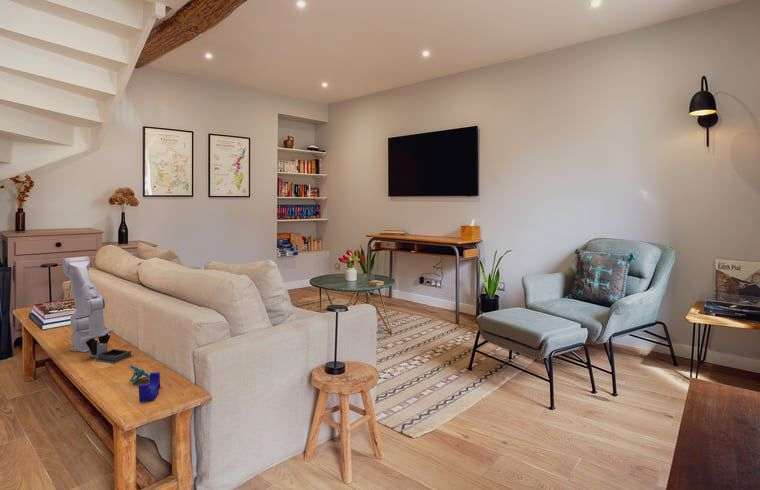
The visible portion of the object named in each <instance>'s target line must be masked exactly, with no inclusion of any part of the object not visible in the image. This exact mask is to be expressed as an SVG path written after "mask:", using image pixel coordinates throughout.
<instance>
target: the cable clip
mask: <svg viewBox="0 0 760 490" xmlns="http://www.w3.org/2000/svg"><path fill="white" fill-rule="evenodd" d="M160 373H161V372H160V371H158V372H157V371H155V372H154V371H152V372H150V373H149V375H150V378H149V381H148V383H140V384H139V385H138V399H139V400H138V401H139V402H153V401H154V400H155V399H156V398H157V396H158V395H159V394H160V390H159V389H160V388H161V374H160Z"/></svg>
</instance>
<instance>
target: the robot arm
mask: <svg viewBox="0 0 760 490" xmlns="http://www.w3.org/2000/svg"><path fill="white" fill-rule="evenodd" d="M62 269H63V275H64V276H65V277H67V278H68V279H69V282H70V287H71V292H72V297H73V301H74V306H75V312H74V313H73V314H71V316H70V329H71V330H72V333H71V335H70V336H71V337H70V339H71V340H70V341H71V348H70V351H75V352H81V353H87V352H90V351H91V354H92V355H96V354H97V342H99V343H106V344H107V345H108V343H109V341H110V339H111V335H110V334H113V333H114V329H113V328H107V329H105V319H104V309H105V307H106V302H105V299H104V297H103V296H102V295H101V294H100V293H99V291H98V288H97V286H96V284H95V283H92V280H91V276H90V272H89V271H90V269H91V260H90V257H89V256H87V255H84V256H74V257H64V258H63V260H62ZM97 338H98V340H96V339H97ZM89 349H90V350H89Z"/></svg>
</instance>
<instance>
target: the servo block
mask: <svg viewBox="0 0 760 490" xmlns="http://www.w3.org/2000/svg"><path fill="white" fill-rule="evenodd" d="M89 350H90V349H89ZM107 351H109V349H108V343H107V344H106V343H100V342H99V341H98V342H97V354H96V355H92V354H91V351H89V357H90V358H96V359H98V355H99V354H101V353H104V352H107Z"/></svg>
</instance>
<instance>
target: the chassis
mask: <svg viewBox="0 0 760 490" xmlns="http://www.w3.org/2000/svg"><path fill="white" fill-rule="evenodd" d="M131 352H132V351H130V350H127V349H126V350H124V349H117V348H112V349H110V350H109V349H108V351H107V352H104V353H101V354H99V355H98V358H96V359H95V360H94V361H95V362H101V363H106V364H111V365H112V364H114V365H115V364H117V363H119V362H122V361H125V360H127V359H130V358H132V357H134V356H135V355H134V354H132V353H131Z"/></svg>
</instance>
